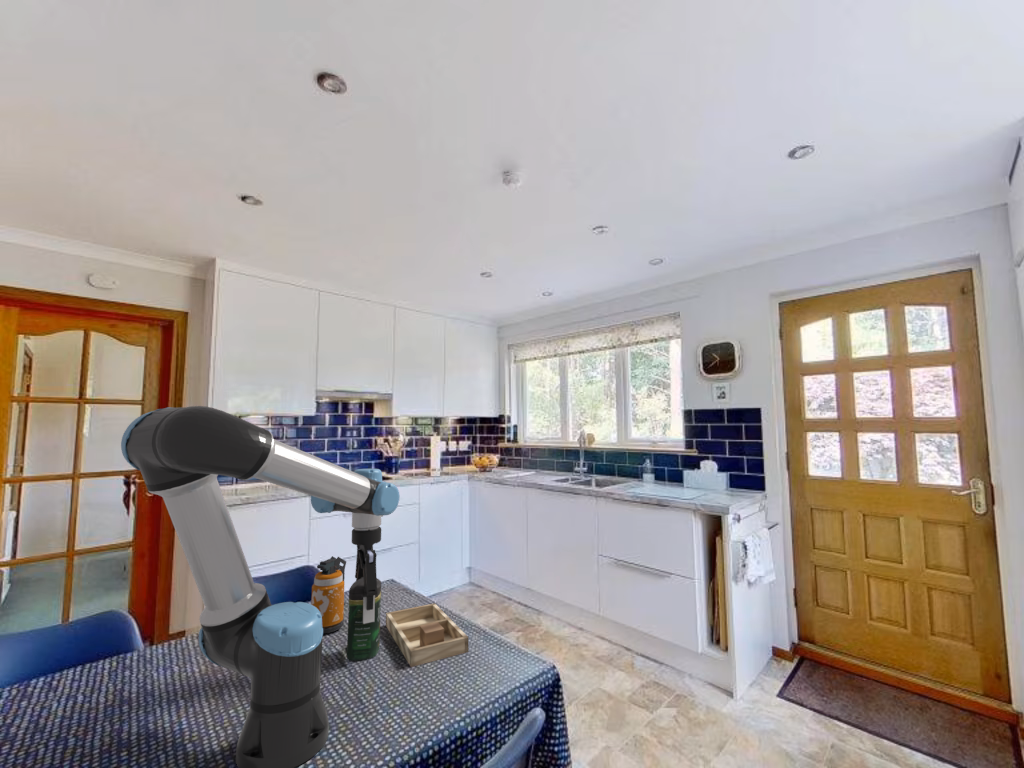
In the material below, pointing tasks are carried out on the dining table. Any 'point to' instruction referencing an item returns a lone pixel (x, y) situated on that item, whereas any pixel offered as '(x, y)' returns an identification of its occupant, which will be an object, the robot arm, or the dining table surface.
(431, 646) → the slot rack
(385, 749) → the dining table surface
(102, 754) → the dining table surface
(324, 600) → the canister
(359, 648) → the coffee jar
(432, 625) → the walnut block
